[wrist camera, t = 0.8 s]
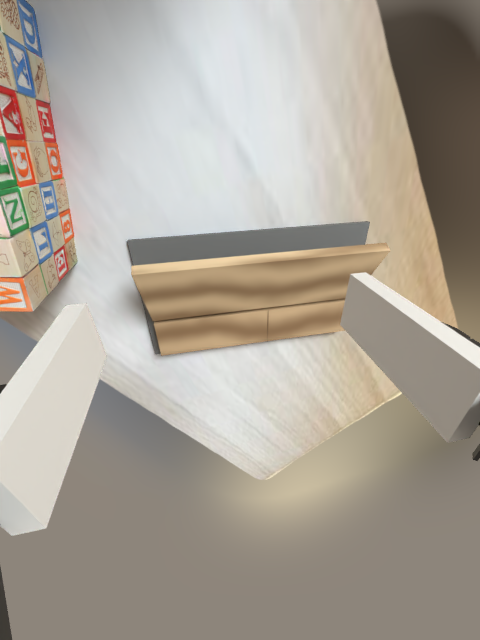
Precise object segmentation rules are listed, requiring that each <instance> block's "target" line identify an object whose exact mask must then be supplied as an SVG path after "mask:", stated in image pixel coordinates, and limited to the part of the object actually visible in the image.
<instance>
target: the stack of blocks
mask: <svg viewBox="0 0 480 640" xmlns="http://www.w3.org/2000/svg"><path fill="white" fill-rule="evenodd" d="M50 102H51V101H50V95H49V90H48V84H47V78H46V72H45V66H44V62H43V58H42V51H41V45H40V39H39V34H38V28H37V23H36V16H35V12H34V9H33V8H32V7H31V6H30V5H29V4H28V3H27V2H26V1H25V0H0V311H16V312H31V311H34V310H35V309H36V308H37V307H38V306H39V304H40V303H41V302H42V301H43V300H44V298H45V297H46V296H48V295H49V294H50V293H51V291H53V289H54V288H55V287H56V286H57V285H58V284H59V281H60V280H61V279H62V278H63V277H64V276H65V275H66V273H67V272H68V271H69V270H71V269H72V268H73V266H74V265H75V264H76V263H77V255H76V249H75V243H74V232H73V226H72V220H71V214H70V209H69V202H68V196H67V190H66V184H65V179H64V178H63V175H62V168H61V164H60V157H59V151H58V145H57V143H56V138H55V131H54V125H53V120H52V114H51V108H50V105H49V104H50Z"/></svg>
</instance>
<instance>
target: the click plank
mask: <svg viewBox="0 0 480 640" xmlns="http://www.w3.org/2000/svg"><path fill="white" fill-rule="evenodd" d="M389 252H390V249H389V247H388V245H387V243H378V244H367V245H356V246H345V247H334V248H323V249H312V250H301V251H290V252H279V253H268V254H256V255H245V256H234V257H223V258H212V259H201V260H190V261H179V262H168V263H157V264H146V265H135V266H132V272H131V275H132V277H133V279H134V282H135V284H136V286H137V288H138V290H139V292H140V295H141V297H142V299H143V301H144V303H145V305H146V307H147V310H148V312H149V314H150V316H151V318H152V320H153V321H159V320H168V319H176V318H185V317H193V316H201V315H210V314H218V313H226V312H235V311H243V310H252V309H260V308H268V307H277V306H285V305H293V304H302V303H310V302H319V301H327V300H335V299H344V298H346V293H347V288H348V283H349V278H350V274H354V273H364V272H366V273H368V274H369V275H371V274H372V273H373V272H374V271H375V269H376V268H377V267H378V265H379V264H380V263H381V262H382V260H383V259H384V258H385V257H386V255H387V254H388V253H389Z"/></svg>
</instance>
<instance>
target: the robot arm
mask: <svg viewBox="0 0 480 640" xmlns="http://www.w3.org/2000/svg"><path fill="white" fill-rule="evenodd" d="M340 325H341V326H342V327H343V328H344V329H345V331H346V332H347V333H348V334H349V335H350V336H351V337H352V338H353V339H354V340H355V342H356V343H357V344H358V345H359V346H360V347H361V348H362V349H363V350H364V351H365V353H366V354H367V355H368V356H369V357H370V358H371V359H372V360H373V361H374V362H375V364H376V365H377V366H378V367H379V368H380V369H381V370H382V371H383V372H384V373H385V375H386V376H387V377H388V378H389V379H390V380H391V381H392V382H393V383H394V384H395V385H396V387H397V388H398V389H399V390H400V391H401V392H402V393H403V394H404V395H405V396H406V397H407V398H408V400H409V401H410V402H411V403H412V404H413V405H414V406H415V407H416V409H417V410H418V411H419V412H420V413H421V414H422V415H423V416H424V417H425V418H426V419H427V420H428V422H429V423H430V424H431V425H432V426H433V427H434V428H435V429H436V430H437V432H438V433H439V434H440V435H441V436H442V437H443V438H444V439H445V440H446V441H447V443H448V442H453V441H458V440H462V439H467V438H470V437H471V435H472V434H473V432H474V431H475V429H476V428H477V427H478V425H480V343H479V342H477V341H475V340H474V339H470V337H469V336H468V335H466V334H465V333H463V332H462V331H460V330H458V329H457V328H455V327H452V326H450V325H448V324H445V323H443V322H440V321H439V320H437V319H436V318H434V317H433V316H431V315H430V314H428V313H427V312H425V311H424V310H422V309H421V308H419V307H418V306H416V305H415V304H413V303H412V302H410V301H409V300H407V299H406V298H404V297H402V296H401V295H399V294H398V293H396V292H395V291H393V290H392V289H390V288H389V287H387V286H386V285H384V284H383V283H381V282H380V281H378V280H377V279H375V278H374V277H372V276H371V275H369V274H368V273H366V272H364V273H354V274H350V278H349V283H348V288H347V293H346V298H345V303H344V308H343V313H342V318H341V323H340ZM106 359H107V355H106V352H105V349H104V347H103V344H102V342H101V339H100V336H99V334H98V331H97V329H96V326H95V324H94V321H93V318H92V316H91V313H90V311H89V308H88V305H87V303H82V304H73V305H66V306H65V307H64V308H63V310H62V311H61V312H60V314H59V315H58V316H57V318H56V319H55V321H54V322H53V323H52V325H51V326H50V327H49V329H48V330H47V331H46V333H45V334H44V335H43V337H42V338H41V339H40V341H39V342H38V344H37V345H36V346H35V348H34V349H33V350H32V352H31V353H30V354H29V356H28V358H26V360H25V361H24V362H23V364H22V365H21V367H20V368H19V369H18V371H17V372H16V373H15V375H14V376H13V378H12V379H11V380H10V382H9V383H8V384H5V385H0V526H1V527H2V528H3V529H5V530H6V531H7V532H8V533H10V534H11V535H12V536H13V535H18V534H22V533H27V532H31V531H36V530H41V529H46V527H47V525H48V522H49V519H50V516H51V513H52V510H53V508H54V504H55V502H56V499H57V496H58V494H59V490H60V488H61V485H62V482H63V479H64V477H65V474H66V471H67V468H68V465H69V463H70V460H71V457H72V454H73V451H74V449H75V446H76V443H77V440H78V437H79V435H80V432H81V429H82V426H83V423H84V421H85V418H86V415H87V412H88V409H89V406H90V404H91V401H92V398H93V395H94V392H95V390H96V387H97V384H98V381H99V378H100V376H101V373H102V370H103V367H104V364H105V361H106ZM479 458H480V444H479V446H478V447H477V448H476V450H475V451H474V452H473V460H476V461H478V459H479ZM0 640H12V635H11V629H10V623H9V617H8V611H7V605H6V598H5V592H4V586H3V580H2V573H1V568H0Z"/></svg>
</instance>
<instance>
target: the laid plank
mask: <svg viewBox="0 0 480 640" xmlns="http://www.w3.org/2000/svg"><path fill="white" fill-rule="evenodd" d="M344 303H345V298H344V299H335V300H327V301H319V302H310V303H302V304H293V305H285V306H277V307H268V308H260V309H252V310H243V311H235V312H226V313H218V314H210V315H201V316H193V317H185V318H176V319H168V320H159V321H154V327H155V331H156V335H157V339H158V344H159V348H160V352H161V356H162V355H170V354H177V353H184V352H192V351H199V350H206V349H213V348H221V347H228V346H235V345H243V344H250V343H257V342H264V341H272V340H279V339H286V338H294V337H301V336H308V335H315V334H323V333H330V332H337V331H345V329H344V328H343V327H342V326H341V325H340V323H341V318H342V313H343V308H344Z"/></svg>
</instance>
